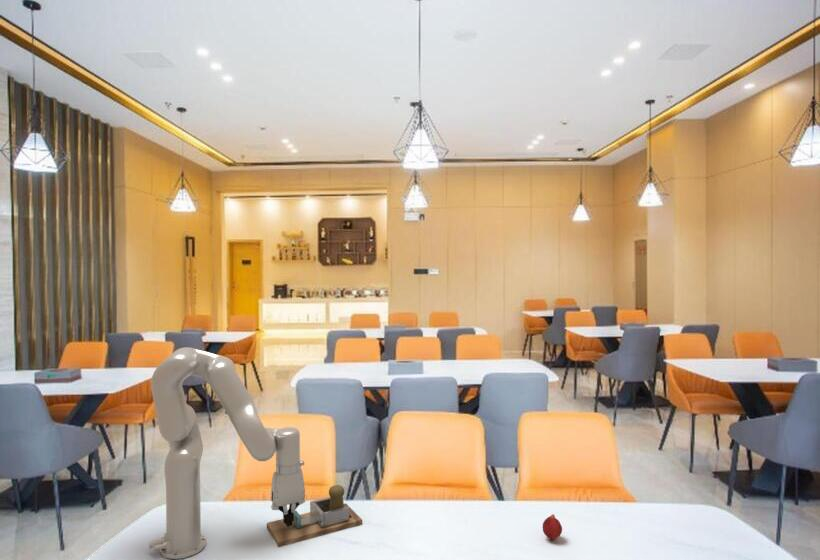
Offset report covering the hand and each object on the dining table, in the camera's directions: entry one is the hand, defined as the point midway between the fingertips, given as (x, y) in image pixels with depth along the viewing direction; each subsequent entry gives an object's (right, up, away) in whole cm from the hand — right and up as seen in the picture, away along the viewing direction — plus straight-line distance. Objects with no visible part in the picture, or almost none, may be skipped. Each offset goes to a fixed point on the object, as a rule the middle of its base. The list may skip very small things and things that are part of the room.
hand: (288, 524), depth 162 cm
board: (+8, -3, +4) cm, 9 cm away
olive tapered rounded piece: (+14, -3, +9) cm, 17 cm away
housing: (+9, -1, +5) cm, 10 cm away
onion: (+83, -3, -5) cm, 84 cm away
